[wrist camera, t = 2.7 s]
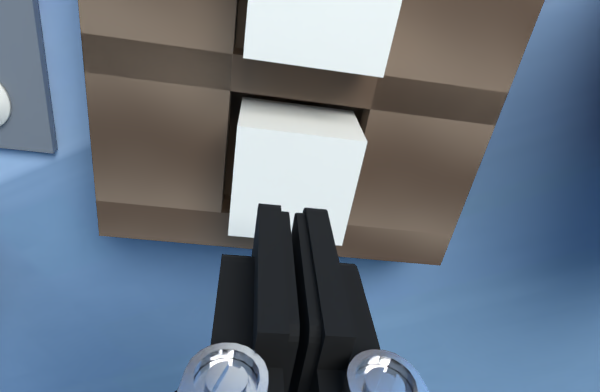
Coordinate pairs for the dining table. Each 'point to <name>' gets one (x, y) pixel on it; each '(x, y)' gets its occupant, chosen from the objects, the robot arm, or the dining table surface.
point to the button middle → (322, 33)
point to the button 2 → (294, 162)
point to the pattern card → (24, 80)
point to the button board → (300, 90)
